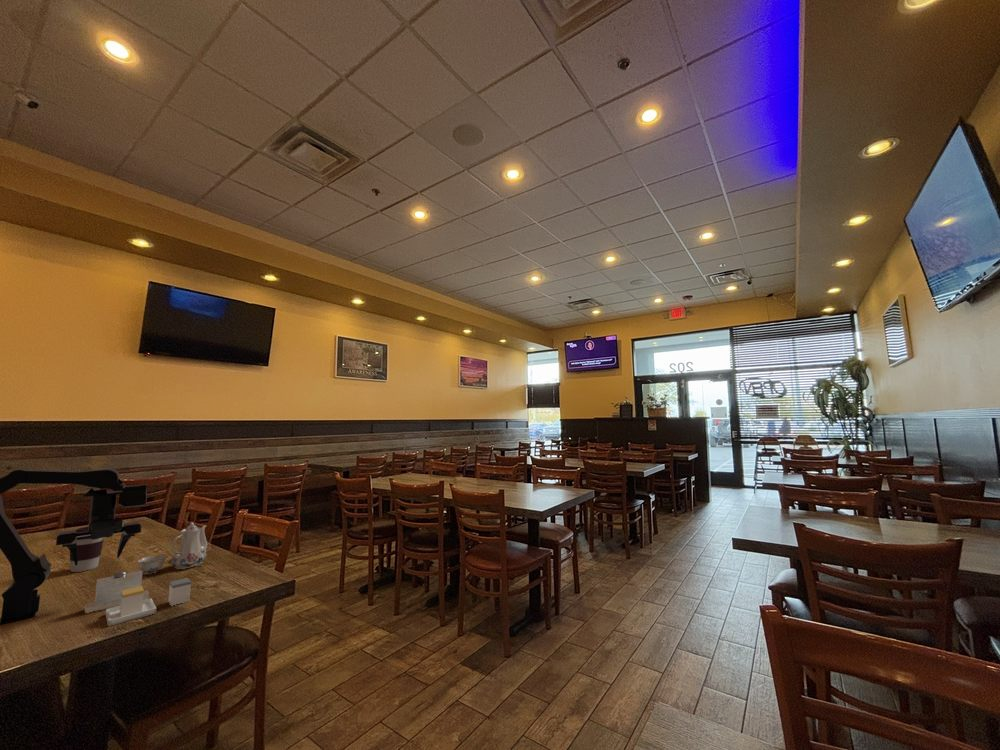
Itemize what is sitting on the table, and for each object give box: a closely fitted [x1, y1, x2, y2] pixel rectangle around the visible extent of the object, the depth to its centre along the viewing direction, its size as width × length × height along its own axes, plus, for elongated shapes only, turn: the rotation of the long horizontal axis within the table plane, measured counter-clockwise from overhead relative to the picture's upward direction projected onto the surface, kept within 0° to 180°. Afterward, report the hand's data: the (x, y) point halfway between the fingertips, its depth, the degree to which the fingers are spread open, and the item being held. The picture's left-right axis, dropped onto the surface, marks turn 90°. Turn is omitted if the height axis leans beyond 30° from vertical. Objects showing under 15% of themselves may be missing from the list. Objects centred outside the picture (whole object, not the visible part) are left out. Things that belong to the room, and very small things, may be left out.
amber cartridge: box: [119, 585, 145, 617], centre depth 117 cm, size 4×4×6 cm
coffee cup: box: [69, 525, 104, 573], centre depth 153 cm, size 10×10×15 cm
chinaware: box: [136, 522, 212, 575], centre depth 157 cm, size 28×17×17 cm, turn 176°
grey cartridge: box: [167, 577, 192, 607], centre depth 125 cm, size 4×4×6 cm
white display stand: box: [84, 570, 150, 614], centre depth 124 cm, size 14×4×9 cm, turn 137°
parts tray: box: [105, 597, 157, 627], centre depth 117 cm, size 10×10×2 cm
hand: (97, 561), depth 126 cm, fingers open, 9 cm apart
